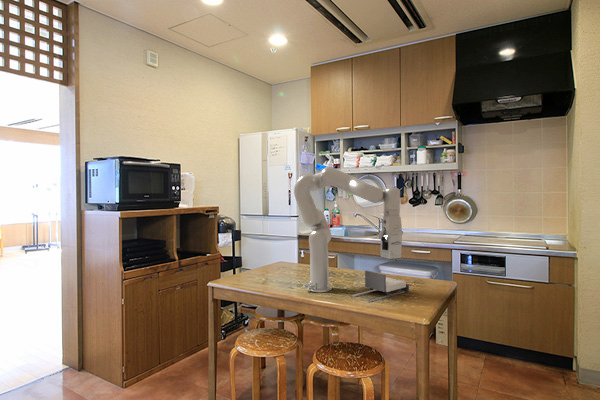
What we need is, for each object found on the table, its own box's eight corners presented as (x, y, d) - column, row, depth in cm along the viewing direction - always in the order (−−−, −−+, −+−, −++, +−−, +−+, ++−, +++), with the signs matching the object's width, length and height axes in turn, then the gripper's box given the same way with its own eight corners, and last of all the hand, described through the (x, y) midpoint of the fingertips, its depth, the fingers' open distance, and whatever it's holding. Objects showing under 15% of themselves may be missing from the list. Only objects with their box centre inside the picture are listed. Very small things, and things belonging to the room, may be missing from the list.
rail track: (370, 302, 160) (370, 294, 160) (348, 296, 171) (348, 287, 171) (409, 292, 176) (409, 284, 176) (386, 286, 188) (386, 279, 188)
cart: (385, 296, 166) (385, 275, 166) (363, 290, 177) (363, 270, 177) (406, 291, 175) (405, 270, 175) (383, 285, 186) (383, 266, 186)
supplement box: (389, 259, 168) (390, 232, 168) (379, 256, 175) (380, 231, 174) (401, 258, 171) (402, 232, 171) (391, 255, 178) (392, 230, 178)
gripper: (385, 214, 165) (384, 251, 165) (409, 213, 175) (408, 248, 175) (373, 213, 171) (372, 249, 171) (397, 212, 181) (396, 246, 181)
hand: (390, 249), depth 173 cm, fingers closed on supplement box, 7 cm apart
